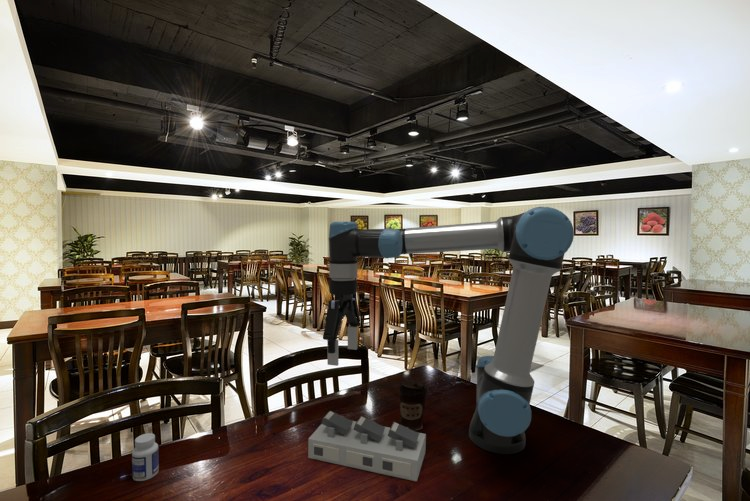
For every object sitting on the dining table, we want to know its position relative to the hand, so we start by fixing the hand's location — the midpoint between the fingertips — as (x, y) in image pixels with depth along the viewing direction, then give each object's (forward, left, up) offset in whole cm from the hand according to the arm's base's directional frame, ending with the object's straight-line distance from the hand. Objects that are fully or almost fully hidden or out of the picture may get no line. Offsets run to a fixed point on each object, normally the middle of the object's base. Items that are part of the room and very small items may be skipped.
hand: (343, 356), depth 101 cm
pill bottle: (+38, +28, -24) cm, 53 cm away
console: (-9, +4, -24) cm, 26 cm away
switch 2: (-9, +4, -18) cm, 20 cm away
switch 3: (-18, +4, -18) cm, 25 cm away
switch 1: (0, +4, -18) cm, 18 cm away
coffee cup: (-17, -14, -24) cm, 32 cm away
